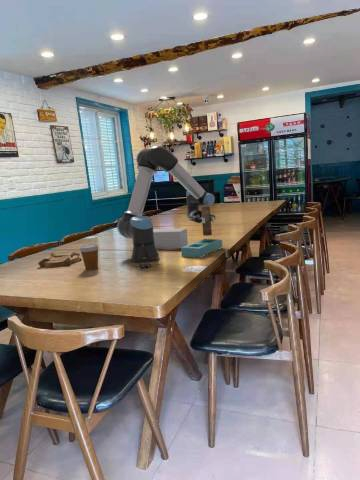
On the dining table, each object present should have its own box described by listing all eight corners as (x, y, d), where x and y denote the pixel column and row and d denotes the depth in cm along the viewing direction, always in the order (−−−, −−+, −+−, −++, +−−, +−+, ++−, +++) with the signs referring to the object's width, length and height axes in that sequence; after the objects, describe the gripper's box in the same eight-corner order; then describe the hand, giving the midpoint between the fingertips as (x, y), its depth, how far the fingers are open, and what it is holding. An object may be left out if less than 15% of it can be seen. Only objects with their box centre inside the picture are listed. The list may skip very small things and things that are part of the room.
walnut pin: (208, 235, 197) (206, 207, 194) (201, 235, 200) (199, 207, 197) (213, 234, 201) (211, 206, 198) (206, 233, 204) (204, 206, 201)
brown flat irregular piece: (29, 267, 197) (27, 259, 196) (61, 257, 217) (60, 249, 217) (59, 269, 186) (58, 260, 185) (90, 258, 206) (88, 250, 205)
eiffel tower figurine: (162, 264, 179) (160, 239, 176) (159, 270, 169) (156, 243, 166) (134, 266, 181) (131, 241, 178) (129, 271, 171) (126, 245, 168)
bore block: (199, 257, 184) (198, 248, 183) (181, 256, 191) (180, 247, 190) (222, 248, 203) (221, 239, 202) (205, 246, 210) (204, 238, 209)
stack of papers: (188, 245, 221) (186, 228, 219) (181, 248, 211) (180, 231, 209) (144, 245, 234) (142, 229, 232) (136, 248, 224) (134, 232, 222)
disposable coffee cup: (82, 267, 184) (79, 245, 182) (100, 265, 187) (97, 243, 185) (82, 272, 175) (79, 248, 173) (101, 269, 178) (98, 246, 176)
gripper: (211, 220, 218) (224, 225, 196) (184, 223, 215) (194, 228, 192) (211, 208, 217) (224, 211, 195) (183, 211, 213) (193, 215, 191)
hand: (209, 220), depth 193 cm, fingers closed on walnut pin, 5 cm apart
